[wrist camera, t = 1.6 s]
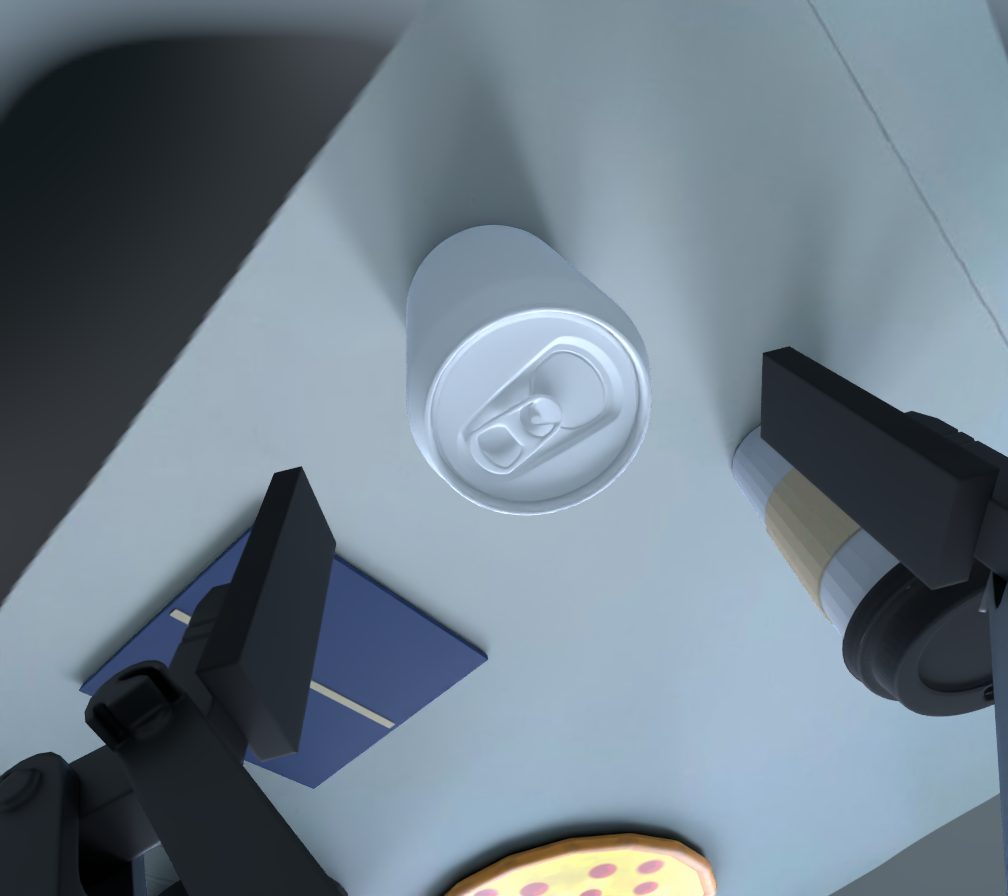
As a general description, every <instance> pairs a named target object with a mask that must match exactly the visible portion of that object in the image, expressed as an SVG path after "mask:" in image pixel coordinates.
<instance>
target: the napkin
mask: <svg viewBox="0 0 1008 896" xmlns="http://www.w3.org/2000/svg"><path fill="white" fill-rule="evenodd" d="M252 528H253V526H252V527H251V528H250V529H249V530H247V531H246V532H245V533H244V534H243V535H242V536H241V537H240V538H239V539H238V540H237V541H236V542H235V543H234V544H232V545H231V546H230V547H229V548H228V549H227V550H226V551H225V552H224V553H223V554H222V555H221V556H220V557H219V558H218V559H216V560H215V561H214V562H213V563H212V564H211V565H210V566H209V567H208V568H207V569H206V570H205V571H204V572H203V573H201V574H200V575H199V576H198V577H197V578H196V579H195V580H194V581H193V582H192V583H191V584H190V585H189V586H188V587H187V588H185V589H184V590H183V591H182V592H181V593H180V594H179V595H178V596H177V597H176V598H175V599H174V600H173V601H172V602H170V603H169V604H168V605H167V606H166V607H165V608H164V609H163V610H162V611H161V612H160V613H159V614H158V615H157V616H156V617H154V618H153V619H152V620H151V621H150V622H149V623H148V624H147V625H146V626H145V627H144V628H143V629H142V630H141V631H139V632H138V633H137V634H136V635H135V636H134V637H133V638H132V639H131V640H130V641H129V642H128V643H127V644H126V645H125V646H123V647H122V648H121V649H120V650H119V651H118V652H117V653H116V654H115V655H114V656H113V657H112V658H111V659H110V660H108V661H107V662H106V663H105V664H104V665H103V666H102V667H101V668H100V669H99V670H98V671H97V672H96V673H95V674H94V675H92V676H91V677H90V678H89V679H88V680H87V681H86V682H85V683H84V684H83V685H82V686H81V688H80V689H79V691H81V692H83V693H85V694H88V695H90V696H93V695H94V694H95V693H96V692H97V690H98V689H99V688H100V687H101V686H102V685H103V684H104V683H105V682H106V681H108V680H109V679H110V678H111V677H112V676H114V675H115V674H116V673H118V672H120V671H122V670H123V669H125V668H127V667H129V666H130V665H133V664H136V663H139V662H142V661H145V660H158V661H160V662H162V663H164V664H165V665H166V666H167V667H168V668H169V665H170V663H171V661H172V659H173V656H174V654H175V652H176V650H177V648H178V645H179V643H182V640H181V639H182V636H183V634H184V632H185V630H186V628H187V627H189V625H188V623H189V621H190V619H191V617H192V614H193V612H194V610H195V608H196V605H197V604H198V603H199V602H200V601H201V600H202V599H203V597H204V596H205V595H206V594H207V593H208V592H209V591H210V590H211V588H212V587H215V586H219V585H223V584H227V583H231V580H232V578H233V575H234V573H235V570H236V568H237V565H238V563H239V560H240V558H241V555H242V553H243V550H244V548H245V545H246V543H247V540H248V538H249V535H250V533H251V530H252ZM487 660H488V656H487V655H486V654H485V653H483V652H482V651H480V650H479V649H477V648H476V647H474V646H473V645H471V644H470V643H468V642H467V641H465V640H464V639H462V638H461V637H459V636H457V635H456V634H454V633H453V632H451V631H450V630H448V629H447V628H445V627H444V626H442V625H441V624H439V623H438V622H436V621H435V620H433V619H432V618H430V617H429V616H427V615H426V614H424V613H423V612H421V611H420V610H418V609H417V608H415V607H414V606H412V605H411V604H409V603H408V602H406V601H405V600H403V599H402V598H400V597H398V596H397V595H395V594H394V593H392V592H391V591H389V590H388V589H386V588H385V587H383V586H382V585H380V584H379V583H377V582H376V581H374V580H373V579H371V578H370V577H368V576H367V575H365V574H364V573H362V572H361V571H359V570H358V569H356V568H355V567H353V566H352V565H350V564H349V563H347V562H346V561H344V560H343V559H341V558H340V557H338V556H336V555H335V554H334V558H333V564H332V569H331V575H330V580H329V586H328V591H327V597H326V602H325V607H324V613H323V618H322V624H321V629H320V635H319V640H318V646H317V651H316V657H315V662H314V668H313V673H312V679H311V684H310V690H309V695H308V700H307V706H306V711H305V717H304V722H303V728H302V733H301V739H300V744H299V750H298V753H295V754H292V755H288V756H284V757H280V758H276V759H272V760H268V761H264V762H259V761H258V759H257V758H256V756H255V755H254V754H253V752H252V751H251V749H250V748H249V747H247V750H246V754H245V758H244V760H246V761H248V762H250V763H253V764H255V765H258V766H260V767H262V768H265V769H267V770H270V771H272V772H274V773H277V774H279V775H282V776H284V777H286V778H289V779H291V780H294V781H296V782H298V783H301V784H303V785H306V786H308V787H310V788H313V789H314V788H316V787H317V786H318V785H320V784H321V783H322V782H324V781H325V780H326V779H328V778H329V777H330V776H332V775H333V774H334V773H336V772H337V771H338V770H340V769H341V768H342V767H344V766H345V765H347V764H348V763H349V762H351V761H352V760H353V759H355V758H356V757H357V756H359V755H360V754H361V753H363V752H364V751H365V750H367V749H368V748H369V747H371V746H372V745H373V744H375V743H376V742H378V741H379V740H380V739H382V738H383V737H384V736H386V735H387V734H388V733H390V732H391V731H392V730H394V729H395V728H396V727H398V726H399V725H400V724H402V723H403V722H404V721H406V720H407V719H409V718H410V717H411V716H413V715H414V714H415V713H417V712H418V711H419V710H421V709H422V708H423V707H425V706H426V705H427V704H429V703H430V702H431V701H433V700H434V699H435V698H437V697H438V696H440V695H441V694H442V693H444V692H445V691H446V690H448V689H449V688H450V687H452V686H453V685H454V684H456V683H457V682H458V681H460V680H461V679H462V678H464V677H465V676H466V675H468V674H469V673H471V672H472V671H473V670H475V669H476V668H477V667H479V666H480V665H481V664H483V663H484V662H485V661H487Z"/></svg>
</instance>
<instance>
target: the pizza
mask: <svg viewBox="0 0 1008 896" xmlns="http://www.w3.org/2000/svg"><path fill="white" fill-rule="evenodd" d="M716 891H717V884H716V881H715V878H714V875H713V872H712V868H711V865H710V862H709V861H708V860H707V859H706V858H705V857H703V856H702V855H700V854H698V853H697V852H695V851H694V850H692V849H690V848H689V847H687V846H686V845H684V844H682V843H681V842H679V841H677V840H671V839H664V838H658V837H652V836H646V835H639V834H633V833H624V834H613V835H601V836H590V837H578V838H569V839H565V840H562V841H558V842H555V843H551V844H548V845H544V846H541V847H538V848H534V849H531V850H527V851H524V852H520V853H517V854H513V855H510V856H507V857H506V858H504V859H502V860H500V861H498V862H496V863H494V864H492V865H490V866H488V867H487V868H485V869H483V870H481V871H479V872H477V873H475V874H473V875H471V876H469V877H467V878H466V879H464V880H462V881H460V882H458V883H457V884H456V885H455V886H454V887H452V888H451V889H450V890H449V891H448V892H447V893H446V894H445V895H444V896H714V895H715V893H716Z"/></svg>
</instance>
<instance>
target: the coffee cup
mask: <svg viewBox="0 0 1008 896" xmlns="http://www.w3.org/2000/svg"><path fill="white" fill-rule="evenodd" d="M760 431H761V425H759V426H758V427H757V428H755V429H754V430H753V431H752V432H750V433H749V435H748V436H747V437H746V438H745V439H744V440H743V441H742V442H741V444H740V445H739V447H738V448H737V450H736V452H735V455H734V458H733V463H732V470H733V475H734V478H735V480H736V482H737V484H738V486H739V487H740V489H741V490H742V492H743V493H744V495H745V496H746V498H747V499H748V501H749V502H750V504H751V505H752V507H753V508H754V510H755V511H756V512H757V514H758V515H759V517H760V518H761V520H762V521H763V523H764V524H765V526H766V529H767V532H768V534H769V536H770V537H771V539H772V541H773V542H774V544H775V545H776V547H777V548H778V550H779V551H780V553H781V554H782V555H783V557H784V558H785V560H786V561H787V563H788V564H789V566H790V567H791V569H792V570H793V572H794V573H795V575H796V576H797V577H798V579H799V580H800V582H801V583H802V585H803V586H804V588H805V589H806V591H807V592H808V594H809V595H810V597H811V598H812V600H813V601H814V602H815V604H816V605H817V607H818V608H819V610H820V611H821V613H822V614H823V615H824V616H825V618H826V619H827V620H828V621H829V622H830V623H831V624H833V625H834V626H835V627H836V629H837V630H838V631H839V633H840V634H841V636H842V637H843V647H842V651H843V658H844V662H845V664H846V667H847V668H848V670H849V672H850V673H851V674H852V675H853V676H854V677H855V678H856V679H858V680H859V681H861V682H862V683H863V684H864V685H865V686H866V687H867V688H868V689H869V690H870V691H872V692H873V693H875V694H876V695H879V696H881V697H883V698H886V699H889V700H894V701H899V702H900V703H901V704H902V705H904V706H905V707H906V708H908V709H909V710H911V711H913V712H915V713H918V714H922V715H927V716H953V715H960V714H965V713H969V712H973V711H976V710H980V709H983V708H986V707H988V706H991V705H994V704H995V703H994V687H993V672H992V656H991V640H990V625H989V609H988V608H987V610H986V613H984V612H980V611H979V608H980V605H981V601H982V598H983V595H984V592H985V589H986V585H987V582H988V579H989V576H990V572H991V570H990V569H989V568H988V567H986V566H985V565H984V564H983V563H981V562H980V561H979V560H977V559H976V558H974V562H973V565H972V569H971V572H970V576H969V579H968V581H966V582H962V583H958V584H954V585H950V586H946V587H942V588H938V589H935V590H931V589H930V588H929V587H928V586H927V585H926V584H924V583H923V582H922V581H921V580H920V579H919V578H918V577H917V576H915V575H914V574H913V573H912V572H911V571H910V570H909V569H908V568H906V567H905V566H904V565H903V564H902V563H901V562H900V561H899V560H897V559H896V558H895V557H894V556H893V555H892V554H891V553H890V552H888V551H887V550H886V549H885V548H884V547H883V546H882V545H881V544H880V543H878V542H877V541H876V540H875V539H874V538H873V537H872V536H871V535H869V534H868V533H867V532H866V531H865V530H864V529H863V528H862V527H860V526H859V525H858V524H857V523H856V522H855V521H854V520H853V519H851V518H850V517H849V516H848V515H847V514H846V513H845V512H844V511H843V510H841V509H840V508H839V507H838V506H837V505H836V504H835V503H834V502H832V501H831V500H830V499H829V498H828V497H827V496H826V495H825V494H823V493H822V492H821V491H820V490H819V489H818V488H817V487H816V486H814V485H813V484H812V483H811V482H810V481H809V480H808V479H807V478H805V477H804V476H803V475H802V474H801V473H800V472H799V471H798V470H797V469H795V468H794V467H793V466H792V465H791V464H790V463H789V462H788V461H786V460H785V459H784V458H783V457H782V456H781V455H780V454H779V453H777V452H776V451H775V450H774V449H773V448H772V447H771V446H770V445H768V444H767V443H766V442H765V441H764V440H763V439H762V438H761V437H760Z"/></svg>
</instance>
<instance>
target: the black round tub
mask: <svg viewBox="0 0 1008 896" xmlns="http://www.w3.org/2000/svg"><path fill="white" fill-rule="evenodd" d="M329 878H330V877H329ZM330 880H331V881H332V882H333V883H334V885H335V886H336V887H337V889H338V890H339V891H340V893H341V894H342V895H343V896H348V894H347V892H346V891H345V890H344V889H343V888H342V887H341V885H340V884H339V883H337V882H336V881H334V880H333V879H331V878H330ZM159 896H189V895H188V893H187V891H186V889H185V887H184V886H183V884H182V882H181V881H179V882H177V883H175V884H173V885H172V886H170V887H169V888H168V889H166V890H165V891H163V892H162V893H161V894H160V895H159Z"/></svg>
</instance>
